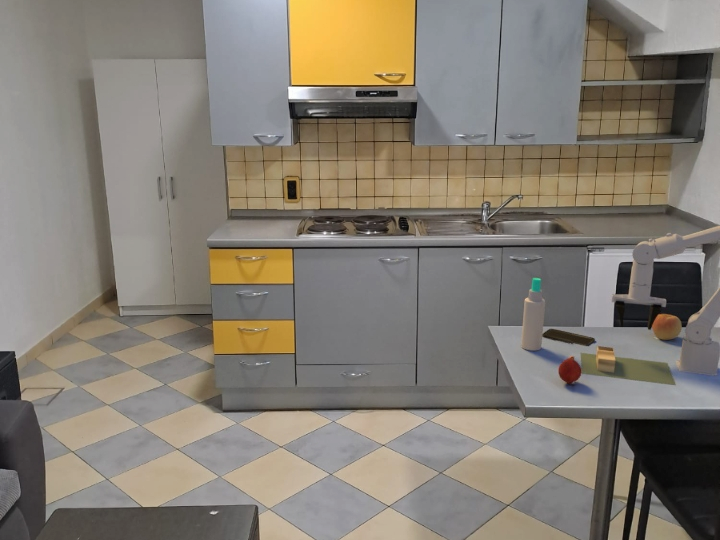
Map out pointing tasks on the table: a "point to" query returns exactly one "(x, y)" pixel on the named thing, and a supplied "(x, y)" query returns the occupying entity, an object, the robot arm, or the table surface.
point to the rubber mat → (630, 369)
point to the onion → (569, 370)
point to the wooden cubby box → (605, 359)
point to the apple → (666, 326)
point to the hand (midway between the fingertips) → (635, 327)
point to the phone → (568, 337)
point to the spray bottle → (533, 318)
